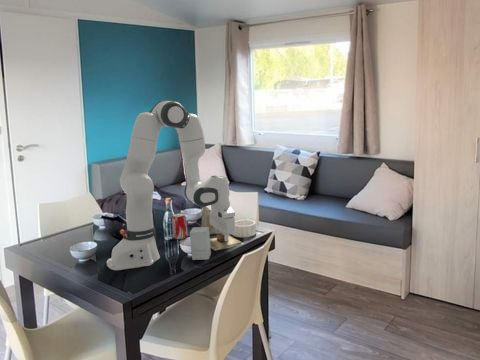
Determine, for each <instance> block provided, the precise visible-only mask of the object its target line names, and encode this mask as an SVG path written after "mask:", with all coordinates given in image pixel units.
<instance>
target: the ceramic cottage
mask: <svg viewBox="0 0 480 360" xmlns="http://www.w3.org/2000/svg"><path fill="white" fill-rule="evenodd" d="M210 211H211V208H209V207H208V206H206V207H202V210H201V211H200V214H201V218H202V219H201V222H200V223H201V226H200V227H209V235H215V234H216V235H217V233H216V230H215V227H213V226H212V225H211V224H210ZM221 233H223V232H222V231H221Z"/></svg>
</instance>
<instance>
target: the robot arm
mask: <svg viewBox="0 0 480 360" xmlns="http://www.w3.org/2000/svg"><path fill="white" fill-rule="evenodd" d="M132 127H133V128H132V130H131V131H132V132H131V135H130V142H129V147H128V151H127V157H126V159H125V162H124V165H123V168H122V173H121V175H120V177H119V184H120V187H121V189H122V190H123V192H124V193H125V195H126V207H125V218H126V219H125V220H126V229H125V230H124V229H120V231H119V234H121V235H122V236H123V238H122V239H121V240H120V241H119V242H118V243H117V244H116V245H115V246H113V248H112V251H111V258H107V261H106V266H107V267H108V269H110V270H112V271H122V270H129V269H136V268H142V267H149V266H152V265H153V264H154V263H155V262H157V261H158V260H159V259H160V258H161V256H160V254H159V253H160V252H159V250H158V247H157V242H156V229H155V225H154V219H153V198H154V197H153V196H154V190H155V185H154V182H153V180H152V178H151V177H150V176H149V172H150V169H151V167H152V164H153V162H154V160H155V159H156V158H155V156H156V153H157V147H158V142H159V134H160V132H161V130H162V129H163V128H164V127H166V128H174V129H175V130H176V132H177V135H178V136H177V137H178V141H179V147H180V151H181V155H182V159H183V166H184V173H185V186H184V192H183V193H184V196H185V199H186V200H187V201H188V202H190V203H193V204H194V205H196V206H198V207H201V208H203V207H208V206H210V210H211V211H210V224H211V225H212V226H213V227H215V230H216V233H217V234H218V233H223V232H224V234H225V235H224V237H223V238H224V241H228V237H229V235H232V234H234V232H235V221H236V219H235V217H236V212H235V211H234V210H233V208H232V206H231V201H230V186H229V181H228V179H227V178H226V177H225V176H223V175H211V176H210V177H209V178H208V179H207V180H205V181H204V182H202V181H201V179H200V177H201V176H200V169H199V160H200V159H201V157H202V156H203V155H204V154H205V152H206V142H205V135H204V130H203V127H202V123H201V119H200V118H199V116H198V115H196V114H194V113H188V111H187V109H186V108H185V107H184V106H183V105H182V104H181V103H179V102H178V101H172V100H162V101H158V102H157V103H156V104H155V105H154V106H153V107H152V108H151V109H150V111H145V112H141V113H139V114H138V115H137V117H136V118H135V121H134V124H133V126H132ZM221 231H222V232H221ZM217 234H216V235H217Z"/></svg>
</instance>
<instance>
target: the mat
mask: <svg viewBox="0 0 480 360" xmlns="http://www.w3.org/2000/svg"><path fill="white" fill-rule="evenodd" d="M241 245H245V243H244V242H242V244H238V245H234V246H229V247H225V248H220V249H215V248H213V247H212V246H210V248H211V249H212V250H214V251H219V250H224V249H229V248H232V247H233V248H234V247H238V246H241Z"/></svg>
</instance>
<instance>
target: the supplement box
mask: <svg viewBox="0 0 480 360" xmlns="http://www.w3.org/2000/svg"><path fill="white" fill-rule="evenodd" d="M210 239H211V235H210V234H209V227H201V226H200V227H199V226H198V227H197V226H196V227H192V228H191V230H190V232H189V240H190V251H191V252H190V253H191V259H192V261H195V260H197V261H199V260H205V261H206V260H209V259H210V257H211V254H212V250H211V249H212V248H210Z"/></svg>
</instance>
